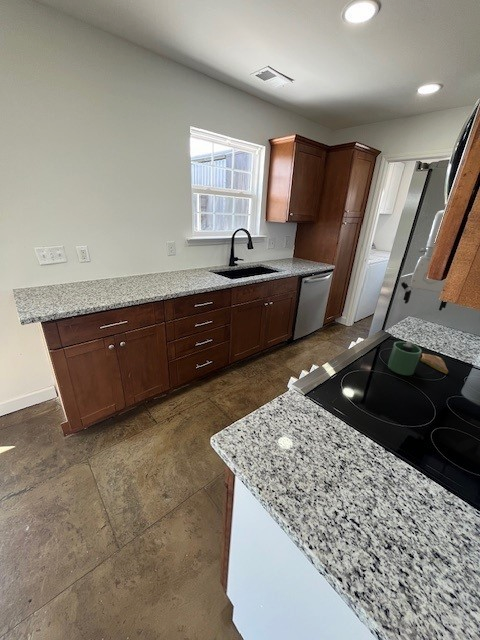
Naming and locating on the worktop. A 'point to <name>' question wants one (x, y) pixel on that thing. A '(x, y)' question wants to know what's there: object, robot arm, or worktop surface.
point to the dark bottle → (408, 346)
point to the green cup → (404, 359)
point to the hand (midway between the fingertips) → (422, 305)
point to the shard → (434, 362)
